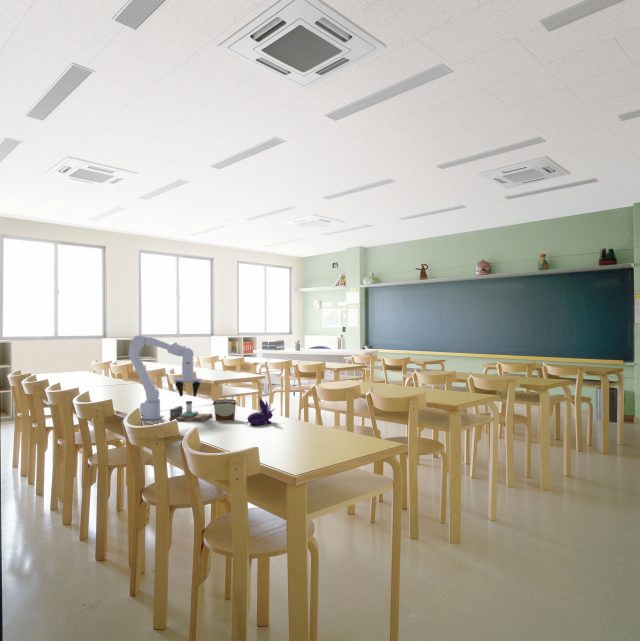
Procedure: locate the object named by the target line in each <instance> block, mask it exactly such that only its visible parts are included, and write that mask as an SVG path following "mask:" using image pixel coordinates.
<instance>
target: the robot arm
mask: <svg viewBox="0 0 640 641" xmlns="http://www.w3.org/2000/svg"><path fill="white" fill-rule="evenodd" d="M129 344H130V345H129V348H128V355H127V356H128V357H129V359H130V362H131V363H132V365H133V368H134V371H135V372H136V374H137V376H138V378H139V379H140V382H141V383H142V386H143V389H144V391H145V398H146V399H145V400H143V401H141V402H140V405H139V414H140V413H141V416H142V419H141V420H155V421H156V420H159V419H161V418H163V417H164V415H161V399H159V397H160V391H159V389H158V388H157V387H156V386H155V385H154V383H153V382H152V381H153V380H152V379H151V377H150V375H149V373H148V371H147V369H146V367H145V365H144V363H143V361H142V359H141V357H140V353H141V350H142V348H143V347H144V346H155V347H156V348H157V347H158V348H161V349H164V350H166V351H167V353H168V354H171V355H174V356H176V357H182V362H181V376H182V377H181V378H174V380H173V381H174V384H175V387H176V388H177V391H178V393H179V397H183V395H184V383H191V384H192V390H193V395H192V396H193V397H197V396H198V395H197V393H198V390H199V388H200V385H201V383H202V378H194V358H193V357H194V355H195V354H194V351H193V350H192V349H191V348H189V347H187V346H186V345H180V344H178V343H177V342H170V343H168V342H165V341H162V340H159V339H157V338H155V337H152V336H146V335H142V334H137V335H135V336H133V338H132V339H131V341H130V343H129Z"/></svg>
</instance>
